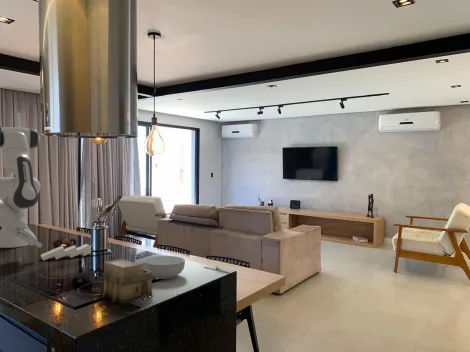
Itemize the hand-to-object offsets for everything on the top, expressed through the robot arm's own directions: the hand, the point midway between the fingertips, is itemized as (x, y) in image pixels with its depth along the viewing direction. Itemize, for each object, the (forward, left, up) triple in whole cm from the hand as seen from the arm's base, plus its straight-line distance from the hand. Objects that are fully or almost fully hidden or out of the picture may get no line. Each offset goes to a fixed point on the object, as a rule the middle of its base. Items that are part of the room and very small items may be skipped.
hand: (40, 246), depth 169 cm
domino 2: (0, +6, -5) cm, 8 cm away
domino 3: (0, +12, -5) cm, 13 cm away
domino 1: (0, 0, -5) cm, 5 cm away
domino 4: (0, +18, -5) cm, 19 cm away
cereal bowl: (+57, +39, -7) cm, 69 cm away
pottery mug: (-18, +13, -7) cm, 23 cm away
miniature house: (+72, +20, -7) cm, 75 cm away
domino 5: (0, +22, -6) cm, 23 cm away
